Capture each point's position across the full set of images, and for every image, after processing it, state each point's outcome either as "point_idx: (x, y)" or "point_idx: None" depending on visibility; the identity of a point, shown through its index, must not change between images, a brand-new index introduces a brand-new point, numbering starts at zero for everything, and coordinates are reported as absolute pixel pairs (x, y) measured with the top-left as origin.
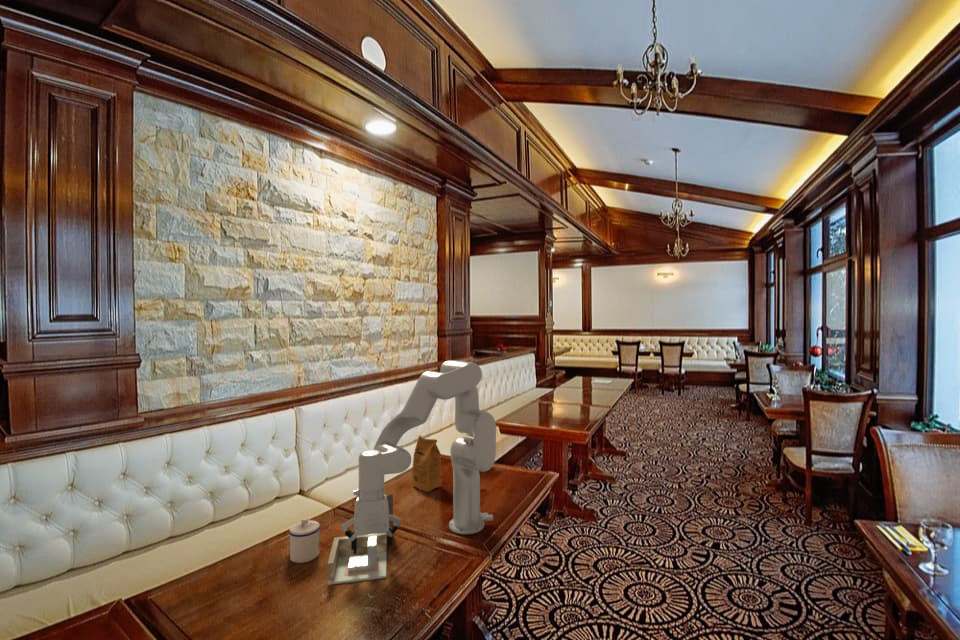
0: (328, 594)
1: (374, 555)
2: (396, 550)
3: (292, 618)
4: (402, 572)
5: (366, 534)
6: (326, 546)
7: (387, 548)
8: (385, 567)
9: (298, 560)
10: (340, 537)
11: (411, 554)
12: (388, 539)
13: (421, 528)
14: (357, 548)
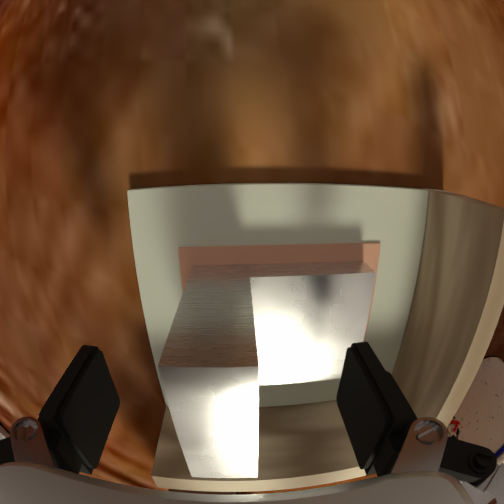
0: (434, 109)
1: (191, 310)
2: (128, 407)
3: (499, 30)
4: (57, 229)
5: (288, 496)
6: None
7: (91, 355)
8: (141, 279)
9: (497, 360)
10: None
11: (58, 364)
12: (51, 403)
13: None
14: (312, 427)
